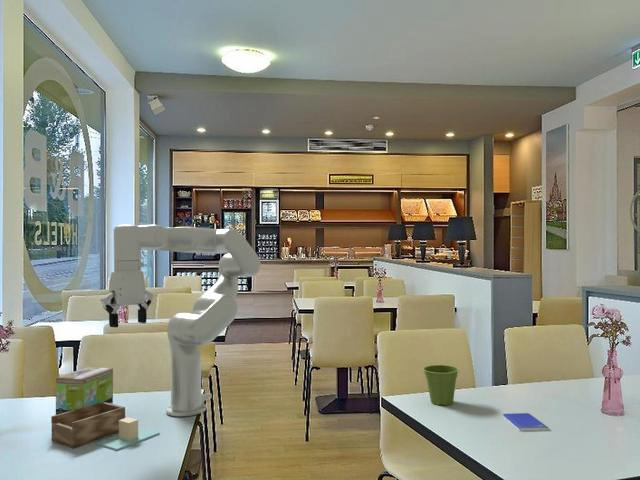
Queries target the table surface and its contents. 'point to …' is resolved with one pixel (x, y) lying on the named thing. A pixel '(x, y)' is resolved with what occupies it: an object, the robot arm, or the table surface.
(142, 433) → the cover plate
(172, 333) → the robot arm
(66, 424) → the walnut box
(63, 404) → the tea box
